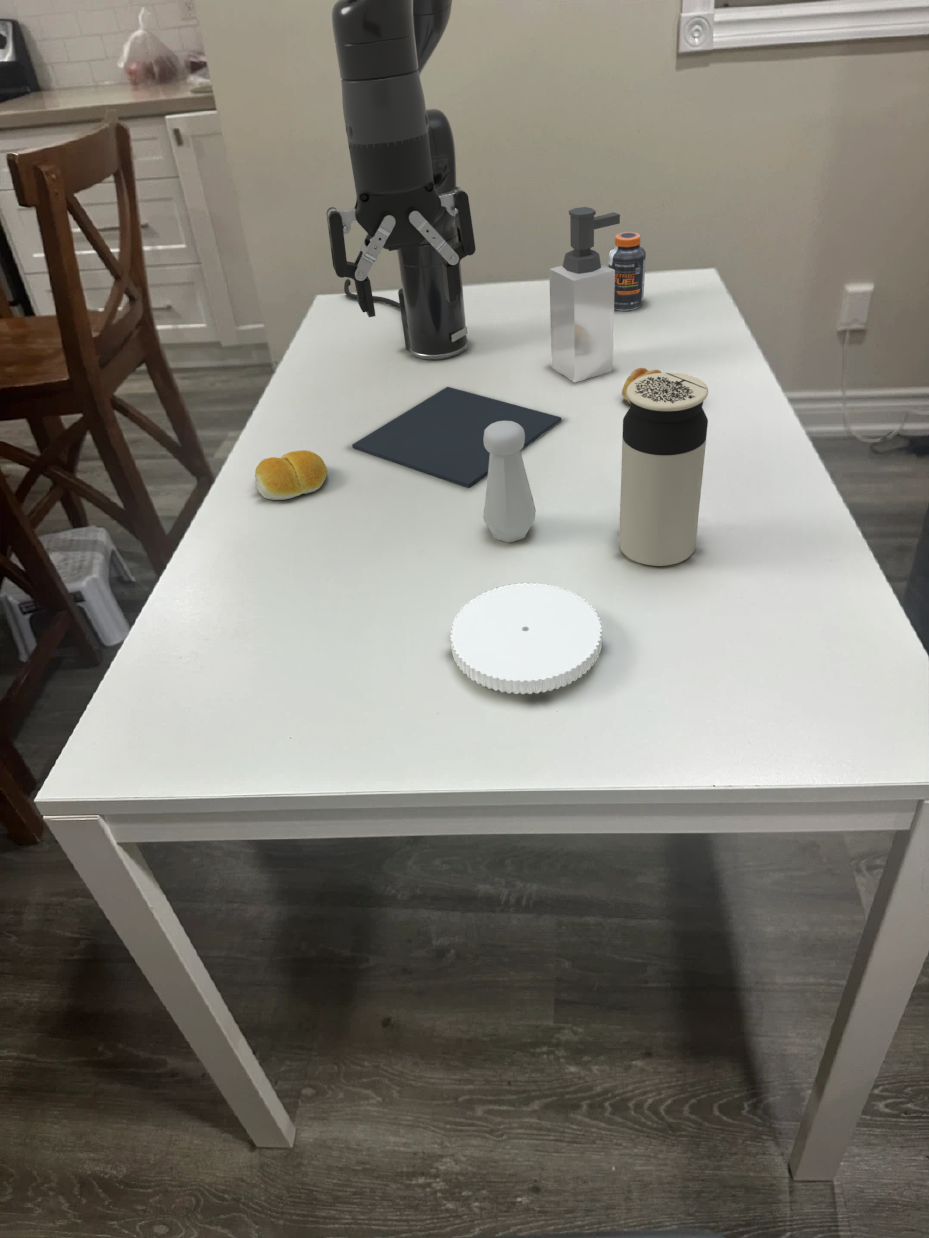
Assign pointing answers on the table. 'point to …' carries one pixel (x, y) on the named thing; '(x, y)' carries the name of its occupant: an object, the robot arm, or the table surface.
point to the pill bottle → (628, 271)
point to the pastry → (634, 376)
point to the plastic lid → (526, 638)
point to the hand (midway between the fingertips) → (411, 307)
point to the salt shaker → (507, 483)
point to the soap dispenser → (582, 302)
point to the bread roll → (290, 475)
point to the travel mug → (662, 468)
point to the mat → (450, 434)
